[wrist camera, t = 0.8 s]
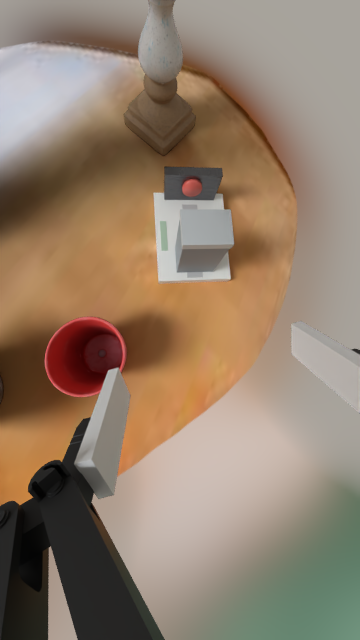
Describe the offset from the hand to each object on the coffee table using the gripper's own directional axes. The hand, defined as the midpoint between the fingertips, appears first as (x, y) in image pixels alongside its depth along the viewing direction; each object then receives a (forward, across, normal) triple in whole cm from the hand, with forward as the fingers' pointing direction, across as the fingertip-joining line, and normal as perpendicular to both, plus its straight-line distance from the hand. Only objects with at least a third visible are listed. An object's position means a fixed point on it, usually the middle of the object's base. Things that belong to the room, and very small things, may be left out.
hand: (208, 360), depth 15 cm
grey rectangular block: (+27, +4, +4) cm, 28 cm away
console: (+31, +5, +7) cm, 32 cm away
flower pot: (+21, -16, -8) cm, 27 cm away
